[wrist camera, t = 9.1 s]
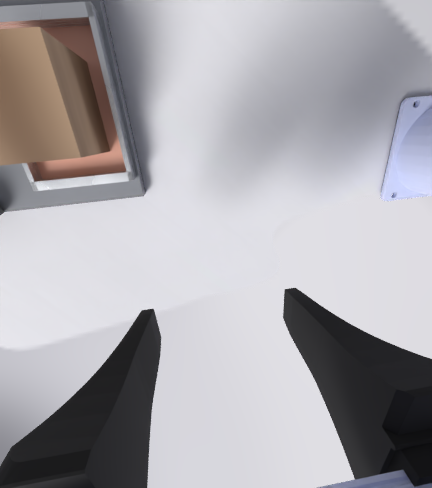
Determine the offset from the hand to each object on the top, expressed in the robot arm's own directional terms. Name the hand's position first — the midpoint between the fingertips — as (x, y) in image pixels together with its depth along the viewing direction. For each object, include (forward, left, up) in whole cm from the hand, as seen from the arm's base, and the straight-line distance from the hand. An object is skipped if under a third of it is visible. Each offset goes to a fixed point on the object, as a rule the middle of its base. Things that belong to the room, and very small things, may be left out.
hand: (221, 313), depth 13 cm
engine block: (+8, -11, -8) cm, 16 cm away
